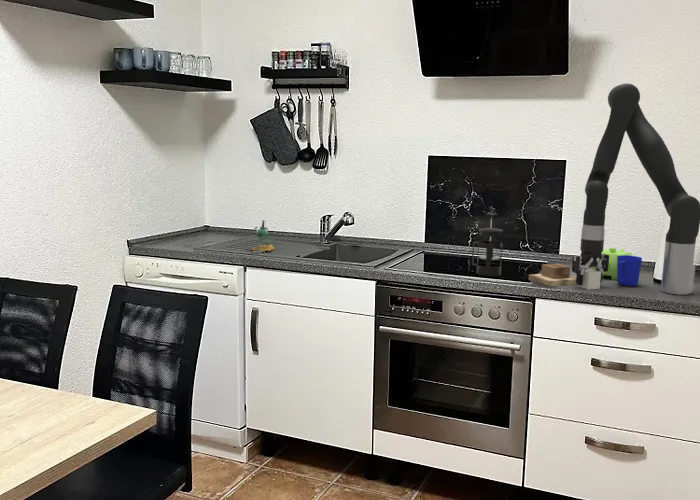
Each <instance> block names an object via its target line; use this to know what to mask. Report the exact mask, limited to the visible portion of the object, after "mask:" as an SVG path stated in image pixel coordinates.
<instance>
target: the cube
mask: <svg viewBox="0 0 700 500" xmlns="http://www.w3.org/2000/svg"><path fill="white" fill-rule="evenodd" d="M600 279H601V272H600V271H597V270H593V269H592V268H588V269H587V270H585V272H584V273H583V285H578V287H579V288H583V289H586V290H598V289H599V290H600V288H601V284H600Z"/></svg>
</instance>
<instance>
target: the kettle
mask: <svg viewBox="0 0 700 500" xmlns="http://www.w3.org/2000/svg"><path fill="white" fill-rule="evenodd" d="M602 254H607V255H609V265H608V271H607V272H606V271H605V272H604V273H603V275H602V279H604V277H605V276H604V275H606V277H611V280H613V281H617V256H620V255H629V256H632V252H629V251H628V252H627V251H625V250H624V248H620V249H619V250H617V248H616V247H609V248H608V249H606V248H603V252H602ZM600 262H601V260H600ZM604 268H605V265H604ZM591 269H593V270H595V268H594V267H592V268H591Z"/></svg>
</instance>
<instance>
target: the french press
mask: <svg viewBox="0 0 700 500" xmlns="http://www.w3.org/2000/svg"><path fill="white" fill-rule="evenodd" d="M485 215H487V216H489V218H490V227H484V228H483V227H482V228H478V231H479V235H480V236H481V237H489V240H479V241H473V242H472V251H471V253H472V254H471V265H472V266H476V272H475V273H476V274H477V275H480V276H484V277H485V276H487V277H497V276H502V260H501V259H502V257H503V256H502V255H503V254H502V253H503V242H501V241H497V240H496V241H495V240H492V238H493V237H494V238H496V237H499V236H500V235H501V233H502V232H504V230H503V229H501V228H496V227H492V224H493V221H492V220H493V219H494V216H497V215H498V213H494V212H493V213H492V212H489V213H486V214H485ZM475 244H477V258H476V259H477V260H476V263H474V255H475V253H474V252H475ZM480 247H482V248H486V251H485V254H483V255H482V254H481V255H480V254H479V252H480V250H479V249H480ZM495 248H496V249H497V248H498V249H499V248H500V256H499V255H494V249H495ZM479 259H480V260H484V261H485V262H479ZM493 261H500V264H499V263H494V262H493Z"/></svg>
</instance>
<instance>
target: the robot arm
mask: <svg viewBox="0 0 700 500" xmlns="http://www.w3.org/2000/svg"><path fill="white" fill-rule="evenodd" d="M640 101H641V93H640V90H639V89H638V87H637V86H636V85H634V84H631V83H628V82H626V83H621V84H618V85H617V86H616V85H615V86H614V87H613V88H612V89H611V90H610V91H609V93H608V96H607V103H608V106H609V108H610V112H609V113H610V114H609V118H608V121H607V124H606V128H605V129H604V133H603V135H602V137H601V139H600V142H599V144H598V147H597V150H596V154H595V157H594V159H593V163H592V168H591V171H590V173H589V175H588V178H587V181H586V184H585V187H584V194H585V195H586V196H585V197H586V199H585V200H586V201H585V209H584V212H583V217H582V218H583V221H582V228H581V235H580V247H579V249H580V255H576V254H574V255H573V256H572V264H571V272H572V273H574V274H576V276H575V277H576V283H577V285H576V286H579V285H583V273H584V272H585V270H587V269H589V268H591V267H594V268H595V270H597V271H600V272H601V279H600V285H601V284H602V282H603V278H602V275H603V273H604V272H605V271H606V272H607V271H608V265H609V255H607V254H602V252H603V250H604V245H605V235H606V234H605V232H606V231H605V222H606V209H607V204H608V199H609V186H608V185H609V181H610V178H611V175H612V173H613V172H614V170H615V168H616V164H617V160H618V157H619V154H620V151H621V147H622V143H623V140H624V137H625V134H627V136H628V139H629V141H630V143H631V145H632V147H633V150H634V152H635V154H636V156H637V158H638V160H639V162H640V163H641V166H642V167H643V169H644V170H645V173H646V174H647V175H648V177H649V178H650V179H651V181H652V183H653V185H654V186H655V188H656V189H657V191H658V194H659V195H660V199H661V201H662V204H663V206H664V208H665V211H666V214H667V215H668V216H669V217H670V218H669V228H668V229H667V232H666V233H665V241H664V253H663V254H664V255H663V264H662V274H661V285H660V291H661V292H663V293H666V294H671V295H672V294H673V295H691V294H692V293H693V292H694V282H695V274H696V265H695V264H694V262H695V261H694V260H695V250H696V243H697V242H696V241H697V237H698V235H699V231H700V201H699V200H698V199H697V198H696V197H694V196H692V195H689V194H688V192H687V191H686V189H685V187H683V184H682V183H681V181H680V179H679V178H678V175H677V173H676V168H675V163H674V159H673V157H672V154H671V153H670V151H669V149H668V146H667V145H666V144H665V141H664V140H663V138H662V136H661V135H660V133H659V132H658V131H657V130H656V129H655V128H654V127H653V125H652V124H651V123H650V122H649V121H648V119H647V118H646V116H645V114H644V113H643V111H642V107H641V106H640V104H639V103H640ZM600 260H601V262H600ZM604 265H605V268H604Z"/></svg>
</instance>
